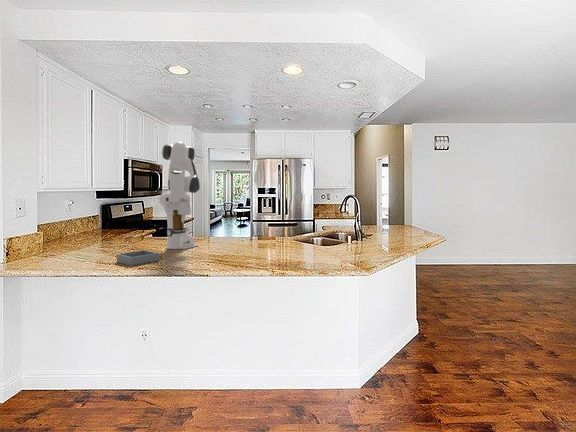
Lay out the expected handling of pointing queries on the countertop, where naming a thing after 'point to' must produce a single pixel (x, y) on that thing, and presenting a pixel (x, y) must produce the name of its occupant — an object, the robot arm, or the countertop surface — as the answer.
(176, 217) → the condiment
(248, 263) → the countertop surface
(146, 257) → the bin
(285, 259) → the countertop surface
